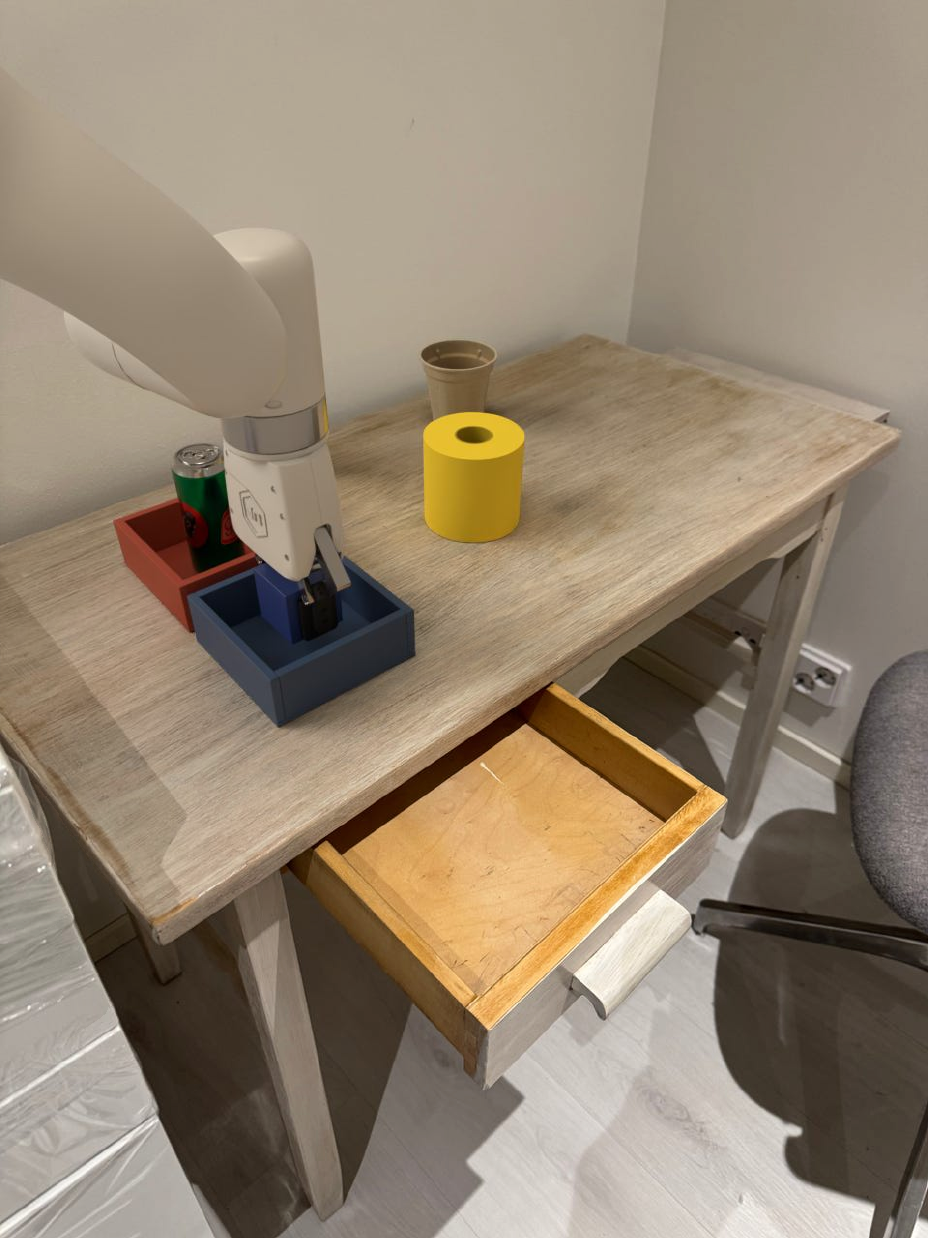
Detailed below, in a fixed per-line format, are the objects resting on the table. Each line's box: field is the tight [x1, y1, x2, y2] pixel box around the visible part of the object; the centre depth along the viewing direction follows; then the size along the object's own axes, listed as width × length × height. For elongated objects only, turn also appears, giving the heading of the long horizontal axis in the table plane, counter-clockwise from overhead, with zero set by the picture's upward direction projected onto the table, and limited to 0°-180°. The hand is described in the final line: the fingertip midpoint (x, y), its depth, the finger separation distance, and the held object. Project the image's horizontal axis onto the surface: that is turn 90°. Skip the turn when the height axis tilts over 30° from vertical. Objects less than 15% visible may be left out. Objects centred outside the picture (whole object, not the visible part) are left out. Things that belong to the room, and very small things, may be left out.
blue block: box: [253, 555, 343, 645], centre depth 74 cm, size 5×5×5 cm
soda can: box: [170, 442, 246, 573], centre depth 82 cm, size 5×5×12 cm
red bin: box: [112, 497, 260, 633], centre depth 85 cm, size 14×14×5 cm
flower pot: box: [418, 338, 499, 421], centre depth 109 cm, size 9×9×9 cm
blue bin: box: [187, 554, 416, 728], centre depth 76 cm, size 14×14×5 cm
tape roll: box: [422, 412, 525, 544], centre depth 91 cm, size 10×10×9 cm
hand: (301, 614), depth 75 cm, fingers closed on blue block, 5 cm apart
